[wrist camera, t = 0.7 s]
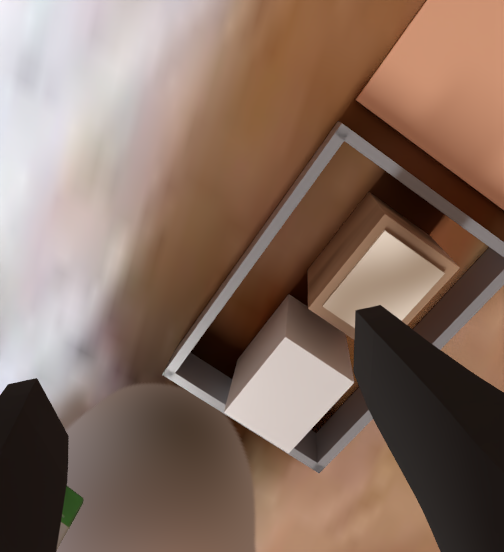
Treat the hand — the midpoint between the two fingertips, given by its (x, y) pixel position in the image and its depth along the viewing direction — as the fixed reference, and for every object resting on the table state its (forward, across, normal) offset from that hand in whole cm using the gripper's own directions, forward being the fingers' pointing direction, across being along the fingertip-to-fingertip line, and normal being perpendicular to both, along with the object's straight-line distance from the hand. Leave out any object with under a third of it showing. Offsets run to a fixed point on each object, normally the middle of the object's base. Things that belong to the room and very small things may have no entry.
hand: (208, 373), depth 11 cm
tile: (+16, -18, 0) cm, 23 cm away
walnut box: (+15, -10, +8) cm, 20 cm away
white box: (+15, -5, +14) cm, 21 cm away
